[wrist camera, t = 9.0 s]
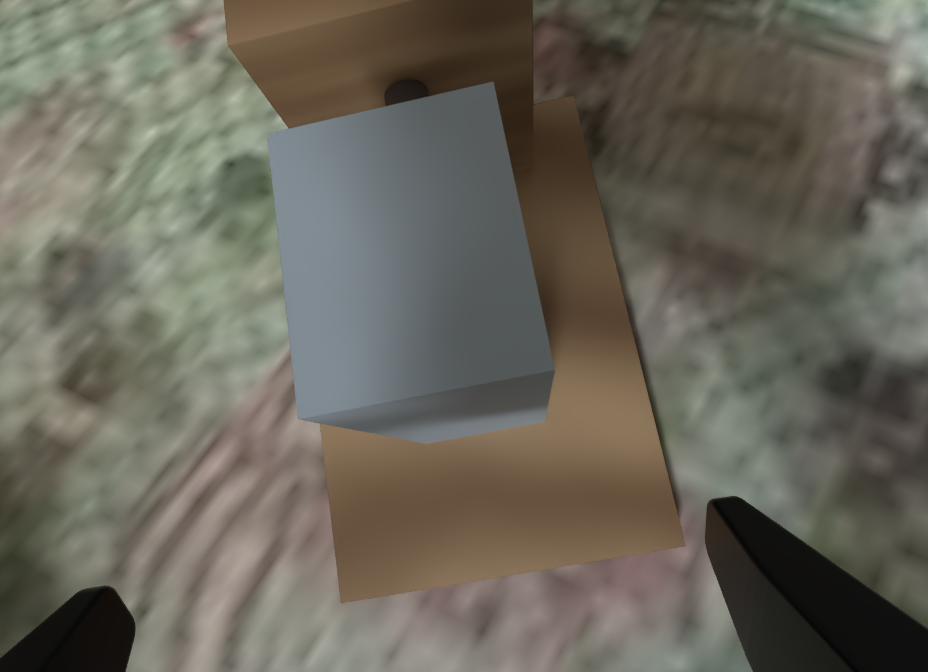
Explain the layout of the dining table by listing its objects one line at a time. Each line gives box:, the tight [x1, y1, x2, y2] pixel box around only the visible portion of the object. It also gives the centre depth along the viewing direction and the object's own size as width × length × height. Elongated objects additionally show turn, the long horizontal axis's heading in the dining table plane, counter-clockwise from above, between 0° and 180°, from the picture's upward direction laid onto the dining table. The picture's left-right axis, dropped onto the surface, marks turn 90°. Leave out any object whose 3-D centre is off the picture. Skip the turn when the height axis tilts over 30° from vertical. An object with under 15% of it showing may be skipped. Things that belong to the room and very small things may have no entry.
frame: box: [224, 0, 686, 603], centre depth 17 cm, size 16×11×10 cm
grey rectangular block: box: [267, 82, 555, 444], centre depth 15 cm, size 5×4×11 cm
